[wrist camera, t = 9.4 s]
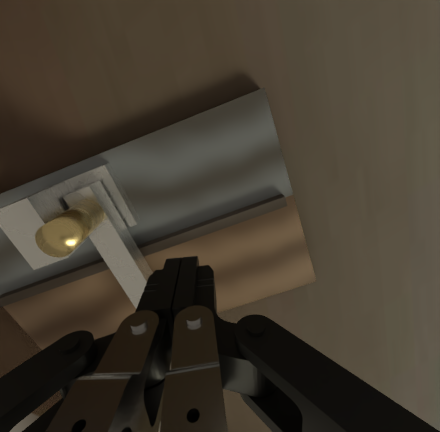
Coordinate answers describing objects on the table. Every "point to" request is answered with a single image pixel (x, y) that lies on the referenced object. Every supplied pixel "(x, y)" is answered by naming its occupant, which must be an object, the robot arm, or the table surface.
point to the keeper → (58, 211)
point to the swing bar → (97, 237)
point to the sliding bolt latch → (173, 222)
